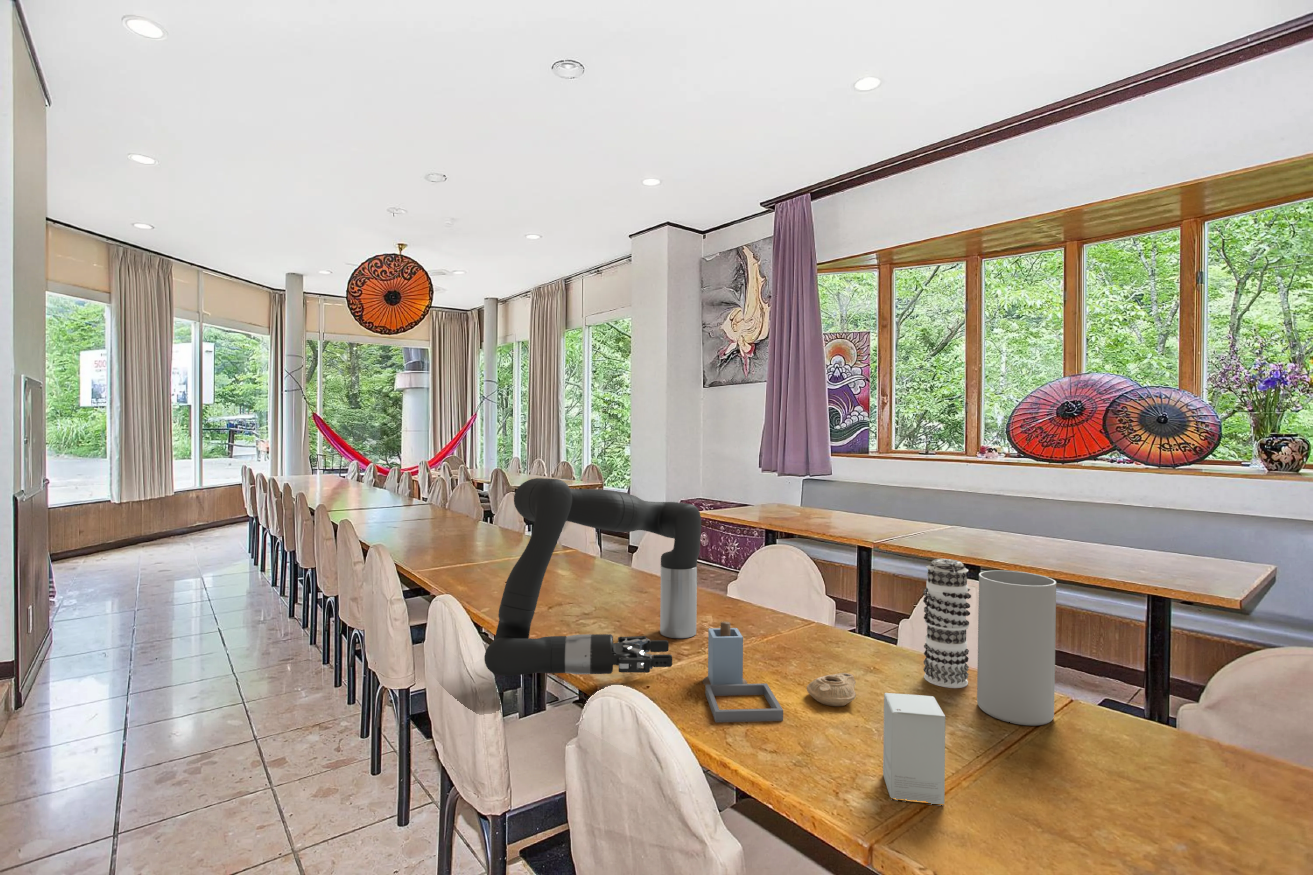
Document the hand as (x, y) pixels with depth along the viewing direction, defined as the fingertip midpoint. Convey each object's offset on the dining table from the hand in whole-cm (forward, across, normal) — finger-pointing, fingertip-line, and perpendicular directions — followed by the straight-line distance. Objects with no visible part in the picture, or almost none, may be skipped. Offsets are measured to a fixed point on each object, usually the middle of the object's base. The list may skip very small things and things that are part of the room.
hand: (670, 652), depth 130 cm
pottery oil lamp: (+32, -8, +7) cm, 33 cm away
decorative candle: (+58, +1, +7) cm, 59 cm away
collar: (+11, 0, +6) cm, 13 cm away
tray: (+12, -12, +7) cm, 18 cm away
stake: (+11, 0, +7) cm, 13 cm away
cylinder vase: (+63, -14, +7) cm, 65 cm away
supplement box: (+32, -38, +7) cm, 50 cm away
